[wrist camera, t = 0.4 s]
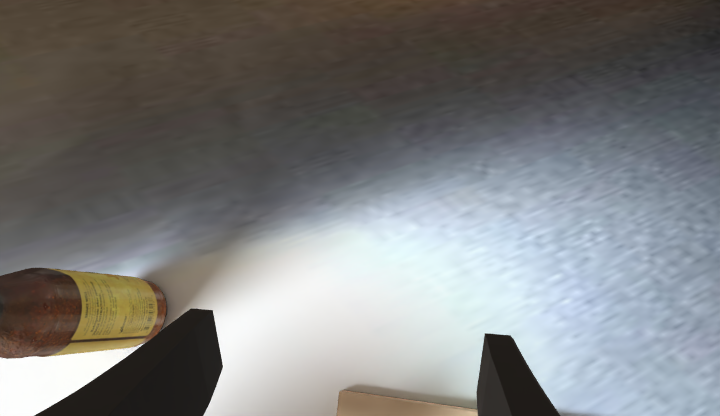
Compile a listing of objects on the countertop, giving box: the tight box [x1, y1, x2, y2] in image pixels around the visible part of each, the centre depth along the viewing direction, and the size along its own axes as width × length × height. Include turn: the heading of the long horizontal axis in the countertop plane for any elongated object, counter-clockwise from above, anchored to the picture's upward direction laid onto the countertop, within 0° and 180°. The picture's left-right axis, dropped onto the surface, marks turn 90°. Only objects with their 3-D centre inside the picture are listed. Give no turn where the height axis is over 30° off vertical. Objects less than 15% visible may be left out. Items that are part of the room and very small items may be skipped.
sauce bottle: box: [0, 268, 167, 359], centre depth 35 cm, size 7×6×20 cm
